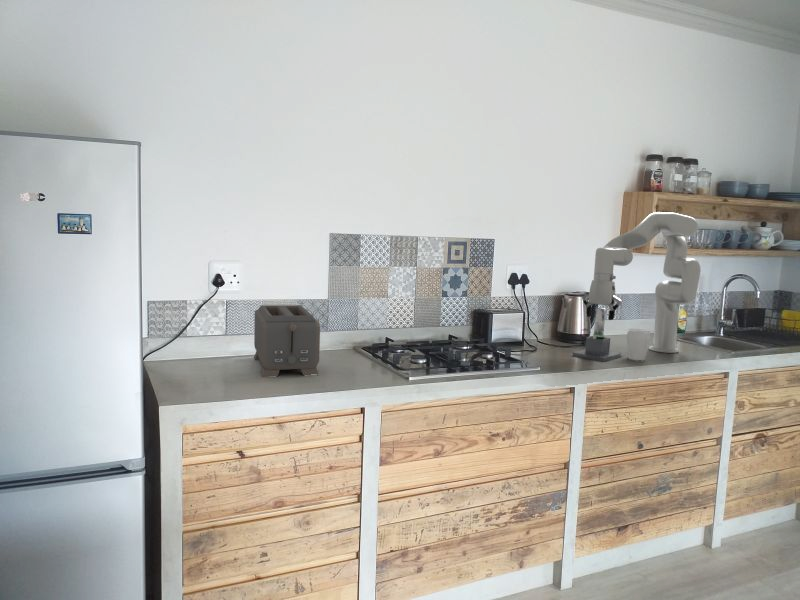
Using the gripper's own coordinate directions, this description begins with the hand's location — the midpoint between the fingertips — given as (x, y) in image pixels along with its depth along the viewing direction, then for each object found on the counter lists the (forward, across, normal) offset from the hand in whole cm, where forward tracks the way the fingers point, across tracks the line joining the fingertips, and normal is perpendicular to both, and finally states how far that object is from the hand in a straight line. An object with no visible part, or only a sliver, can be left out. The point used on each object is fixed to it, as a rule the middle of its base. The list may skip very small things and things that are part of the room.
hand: (600, 318), depth 273 cm
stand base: (+16, 0, 0) cm, 16 cm away
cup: (+17, -13, -9) cm, 23 cm away
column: (+9, 0, 0) cm, 9 cm away
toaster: (+16, +62, +116) cm, 132 cm away
